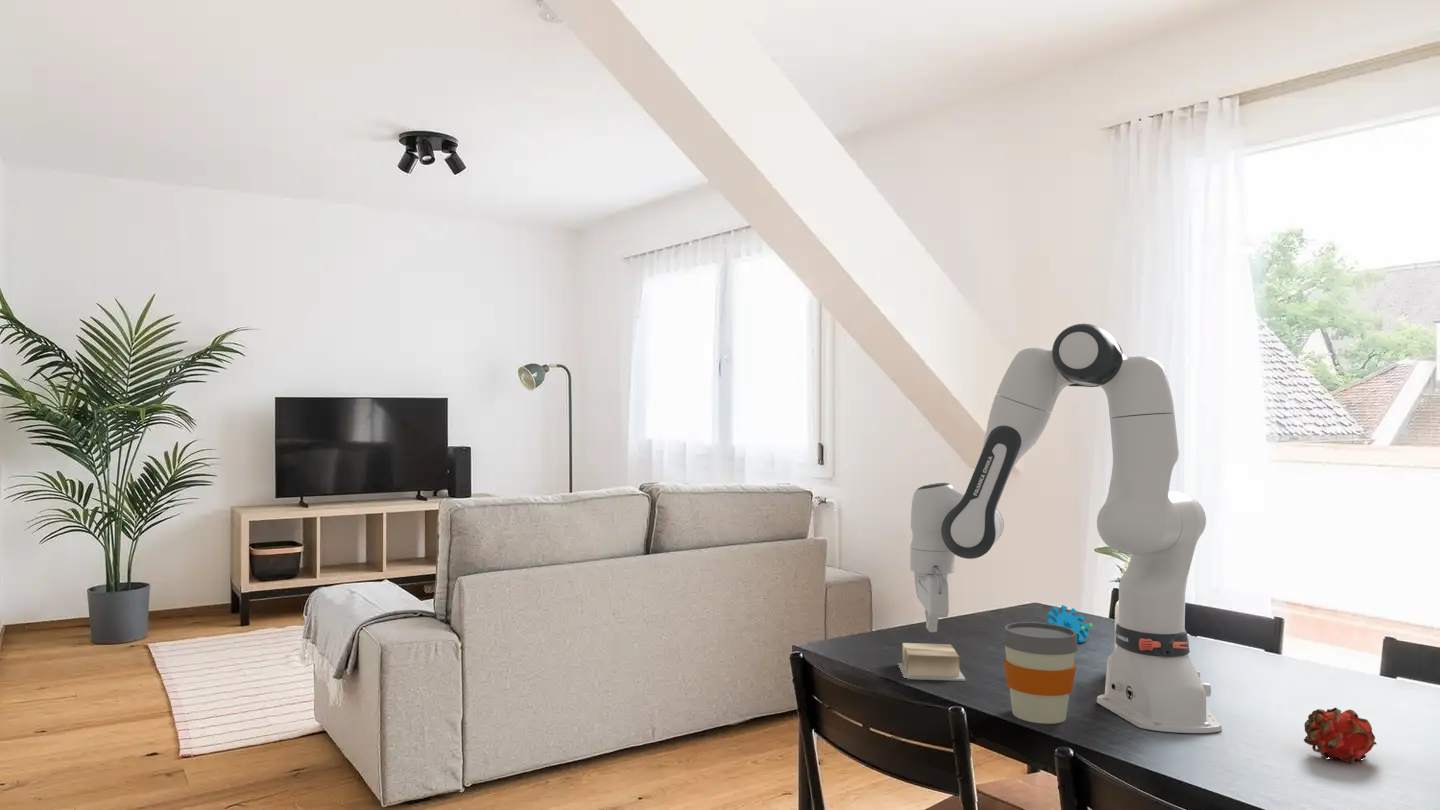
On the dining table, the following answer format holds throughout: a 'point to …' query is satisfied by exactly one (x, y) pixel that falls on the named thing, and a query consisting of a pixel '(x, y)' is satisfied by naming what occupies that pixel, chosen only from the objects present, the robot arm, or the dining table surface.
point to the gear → (1070, 622)
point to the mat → (905, 675)
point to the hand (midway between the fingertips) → (931, 630)
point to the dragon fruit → (1339, 734)
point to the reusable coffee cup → (1039, 670)
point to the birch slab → (930, 659)
